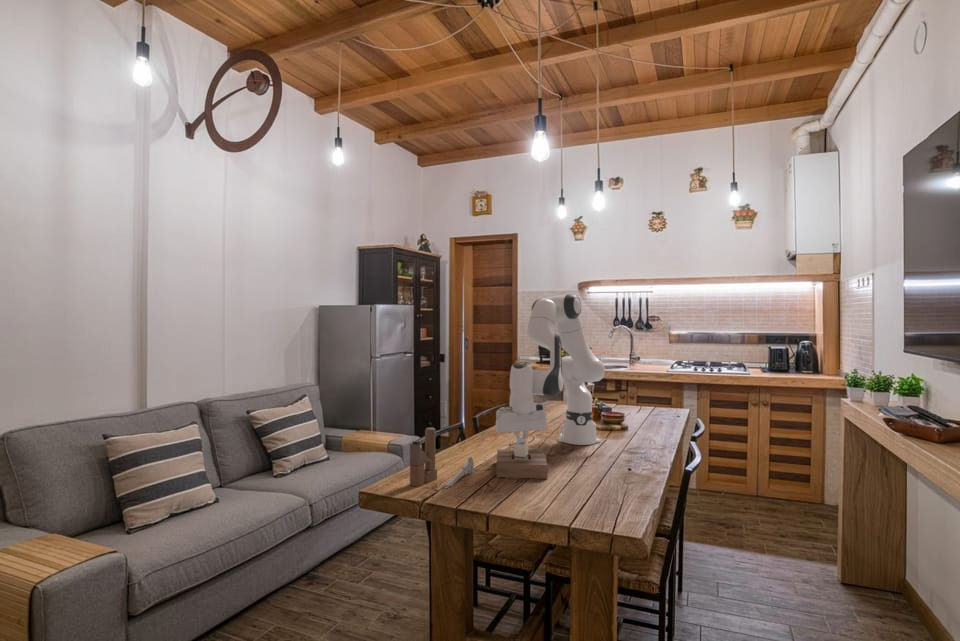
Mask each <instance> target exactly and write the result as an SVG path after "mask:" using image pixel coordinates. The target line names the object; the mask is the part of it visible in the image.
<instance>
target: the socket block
mask: <svg viewBox="0 0 960 641" xmlns="http://www.w3.org/2000/svg"><path fill="white" fill-rule="evenodd" d="M496 450H497V451H496V452H497V453H496V478H497V477H505V478H504V479H521V478H535V479H536V480H548V478H549V477H548V476H549V475H548V471H549V470H548V467H549V466H548V461H547V458H546V454H545V452H544V450H543V449H528V459H514V449H502V448H500V449H496ZM535 479H534V480H535Z"/></svg>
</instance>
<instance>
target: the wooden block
mask: <svg viewBox="0 0 960 641" xmlns="http://www.w3.org/2000/svg"><path fill="white" fill-rule="evenodd" d="M436 479H438V469H437V468H436V428H435V427H432V426H431V427H426V428H425V429H424V450H423V449H422V448H421V447H420V446H419V445H418V444H415V443H414V444H413V443H410V444H409V484H410V486H411V485H412V487H416V488H418V487H421V486H423V485H425V484H426V483H430V482H432V481H434V480H436Z"/></svg>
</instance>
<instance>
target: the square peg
mask: <svg viewBox="0 0 960 641" xmlns="http://www.w3.org/2000/svg"><path fill="white" fill-rule="evenodd" d="M513 446H514V448H513V450H514V459H528V450H529V442H526V443H520V444H518V443H517V442H515V443H514V444H513Z"/></svg>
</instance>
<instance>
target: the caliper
mask: <svg viewBox="0 0 960 641" xmlns="http://www.w3.org/2000/svg"><path fill="white" fill-rule="evenodd" d="M474 465H475V464H474V459H473V457H472V456H469V458H467V462H466V463H465V464H463V466H462V467H461V469H460V470H459V471H458V472H457V473H456V474H455V475H454V476H452V478H451V479H450V480H449V481H448V482H447V483H446V484H445V487H444V488H448V487H450V486H451V487H452V486H453V485H454V484H456V482H457V481H458V480H460V479H461V477H462V476H463V475H472V473H471V472H473V473H474V472H475V471H474V468H475V466H474ZM467 473H468V474H467ZM451 487H450V488H451ZM448 489H449V488H448Z"/></svg>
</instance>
